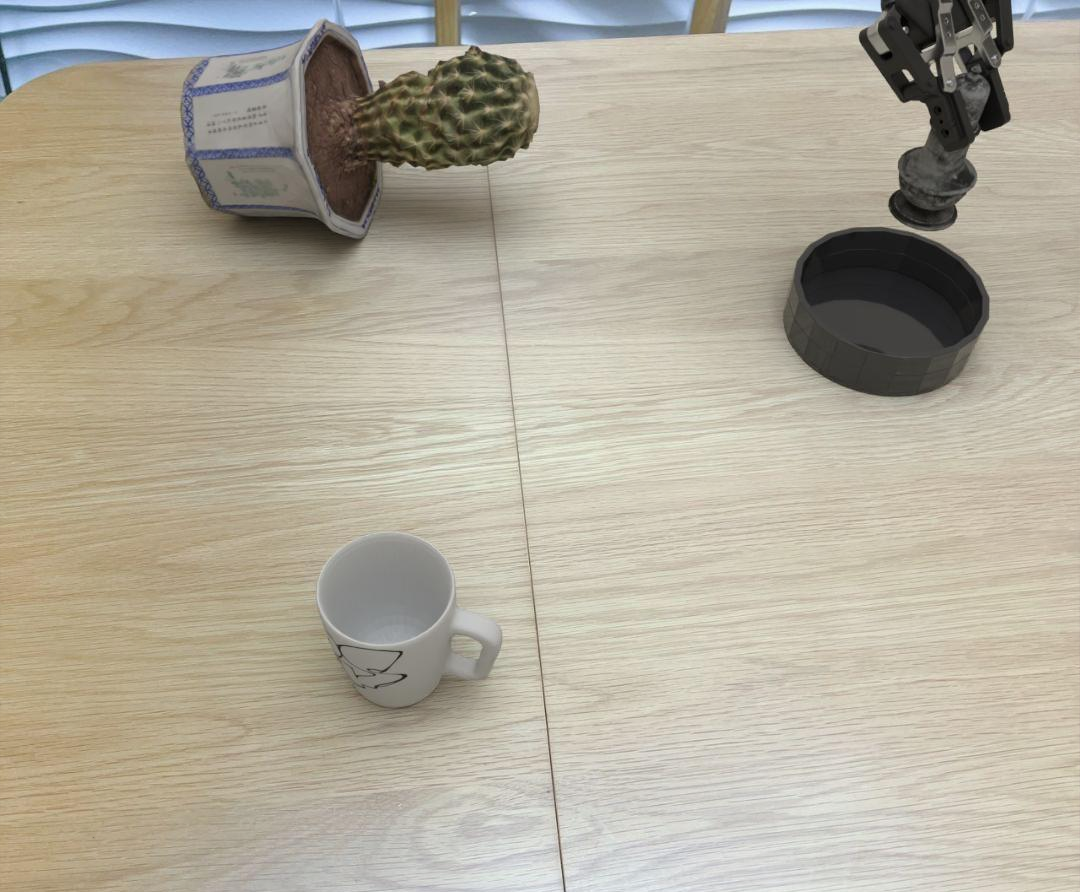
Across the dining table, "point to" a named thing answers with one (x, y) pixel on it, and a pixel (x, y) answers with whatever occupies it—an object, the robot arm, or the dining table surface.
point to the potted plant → (342, 125)
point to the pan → (884, 310)
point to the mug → (399, 618)
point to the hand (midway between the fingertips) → (978, 136)
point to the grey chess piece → (939, 168)
